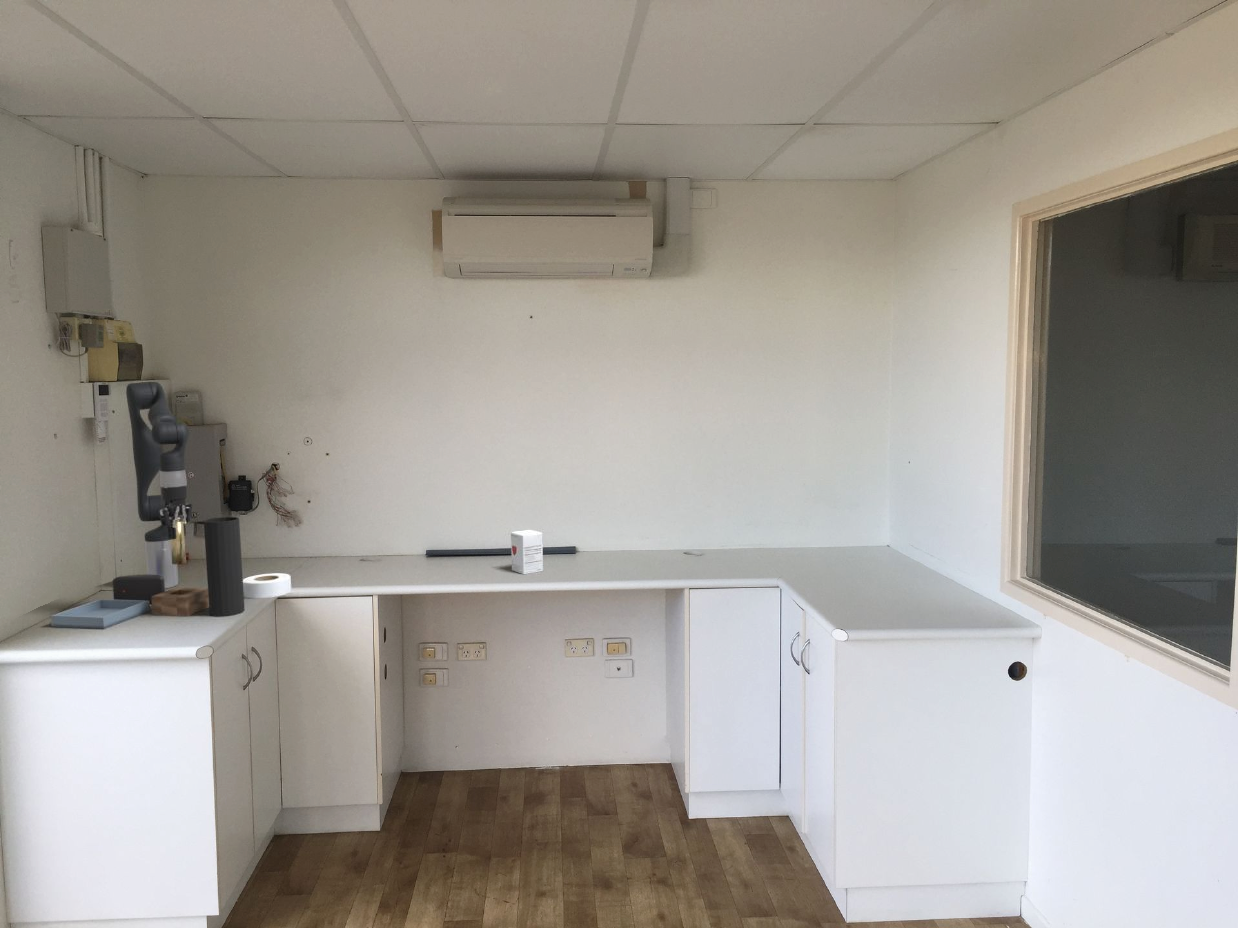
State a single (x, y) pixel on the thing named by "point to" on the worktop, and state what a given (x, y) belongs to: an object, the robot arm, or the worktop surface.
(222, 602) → the vase
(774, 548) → the worktop surface
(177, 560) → the brass pin
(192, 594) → the walnut pin block
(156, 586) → the red-dot charcoal box
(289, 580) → the roll of tape
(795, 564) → the worktop surface
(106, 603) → the slate tray
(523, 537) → the supplement box
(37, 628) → the worktop surface
